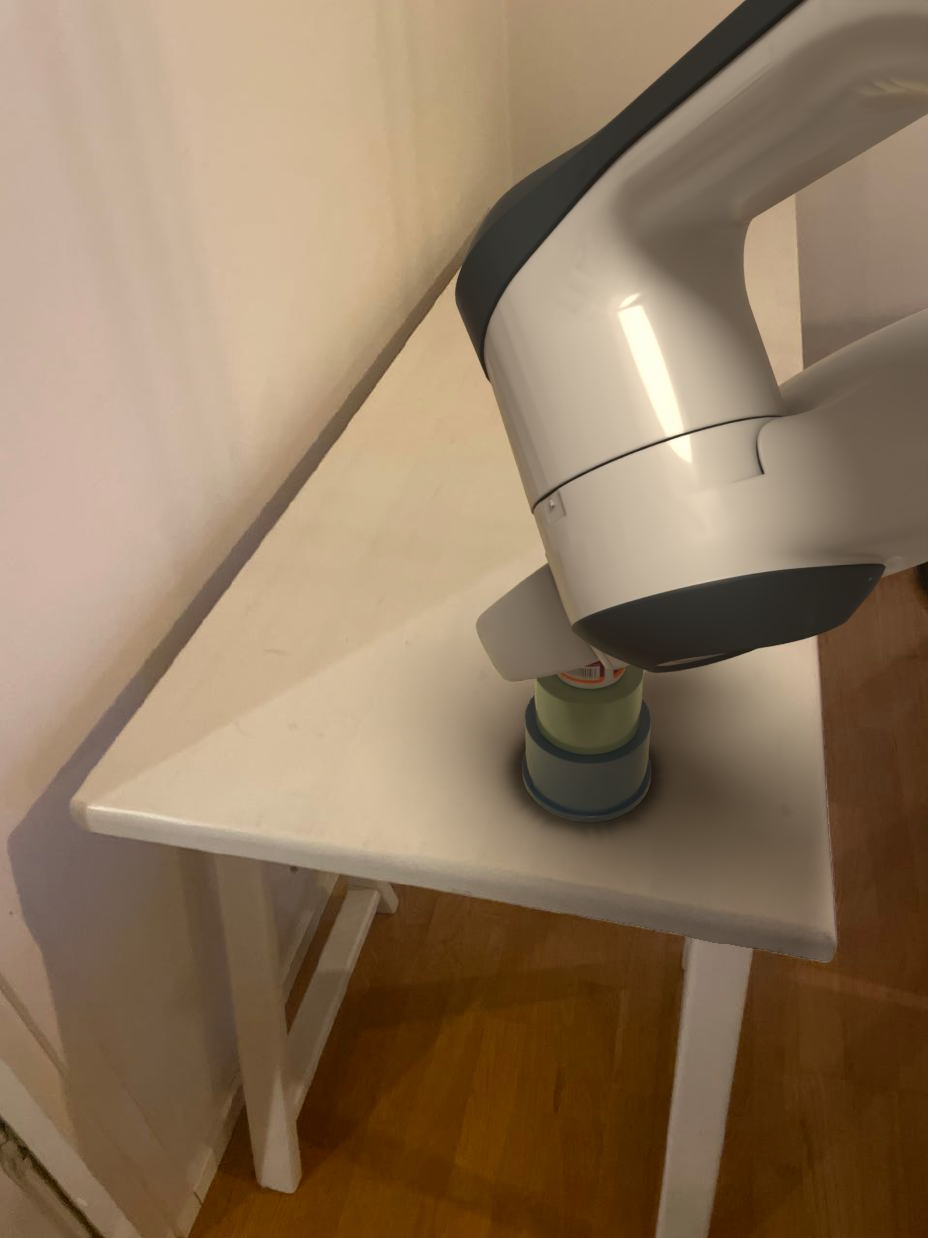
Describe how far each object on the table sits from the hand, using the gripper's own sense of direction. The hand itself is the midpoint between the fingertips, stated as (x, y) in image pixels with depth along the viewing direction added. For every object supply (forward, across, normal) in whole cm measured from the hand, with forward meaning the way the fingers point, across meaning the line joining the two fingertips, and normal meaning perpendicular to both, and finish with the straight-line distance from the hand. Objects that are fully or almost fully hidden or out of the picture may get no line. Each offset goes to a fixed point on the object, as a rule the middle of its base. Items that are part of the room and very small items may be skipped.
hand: (582, 597), depth 57 cm
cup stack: (+10, 0, +11) cm, 15 cm away
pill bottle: (+3, 0, +4) cm, 5 cm away
